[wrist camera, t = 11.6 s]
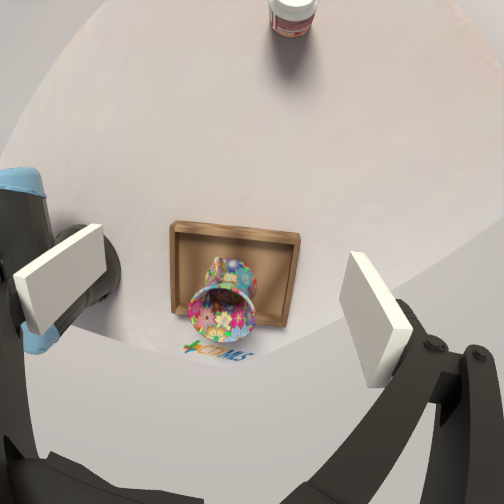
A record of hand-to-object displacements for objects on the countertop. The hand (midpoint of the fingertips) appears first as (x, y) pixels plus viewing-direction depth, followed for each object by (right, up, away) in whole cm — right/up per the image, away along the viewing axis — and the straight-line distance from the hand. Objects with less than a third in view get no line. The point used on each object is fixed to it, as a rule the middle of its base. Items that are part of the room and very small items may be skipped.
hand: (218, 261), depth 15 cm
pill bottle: (+7, +35, +20) cm, 41 cm away
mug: (-2, -3, +35) cm, 35 cm away
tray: (-2, -3, +35) cm, 36 cm away
